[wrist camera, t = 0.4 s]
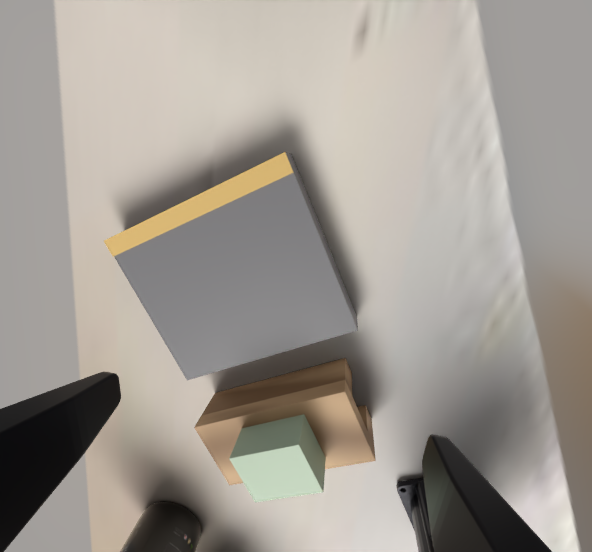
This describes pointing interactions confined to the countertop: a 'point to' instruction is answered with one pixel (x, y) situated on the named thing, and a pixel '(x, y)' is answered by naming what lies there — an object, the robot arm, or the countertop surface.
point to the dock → (237, 271)
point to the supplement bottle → (164, 530)
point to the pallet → (292, 415)
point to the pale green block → (279, 459)
